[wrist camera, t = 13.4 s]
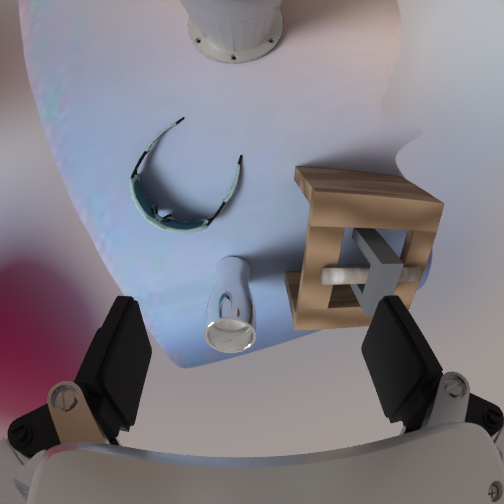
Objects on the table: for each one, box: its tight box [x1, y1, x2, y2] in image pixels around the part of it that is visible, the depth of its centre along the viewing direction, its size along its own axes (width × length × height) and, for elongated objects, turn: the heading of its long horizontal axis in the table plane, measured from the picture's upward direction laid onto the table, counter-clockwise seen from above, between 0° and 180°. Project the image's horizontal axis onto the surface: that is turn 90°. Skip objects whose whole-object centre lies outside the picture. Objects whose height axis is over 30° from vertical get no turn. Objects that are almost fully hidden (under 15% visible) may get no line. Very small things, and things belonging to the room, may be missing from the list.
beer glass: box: [204, 256, 256, 353], centre depth 41 cm, size 7×7×15 cm
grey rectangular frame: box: [346, 228, 404, 316], centre depth 34 cm, size 8×3×9 cm, turn 179°
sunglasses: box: [129, 117, 242, 234], centre depth 38 cm, size 14×15×5 cm
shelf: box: [285, 167, 444, 330], centre depth 38 cm, size 20×18×14 cm
